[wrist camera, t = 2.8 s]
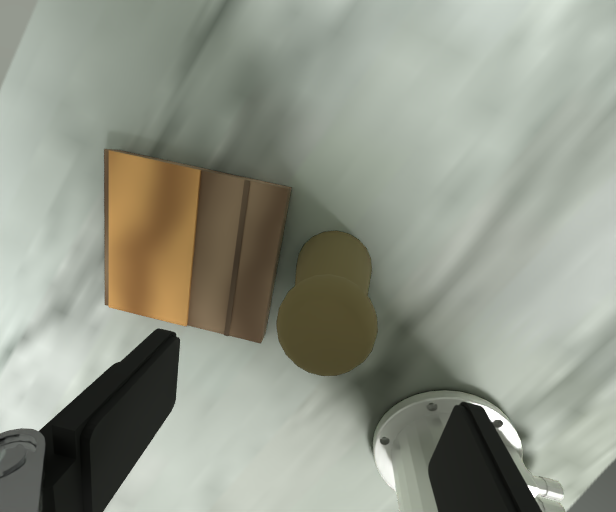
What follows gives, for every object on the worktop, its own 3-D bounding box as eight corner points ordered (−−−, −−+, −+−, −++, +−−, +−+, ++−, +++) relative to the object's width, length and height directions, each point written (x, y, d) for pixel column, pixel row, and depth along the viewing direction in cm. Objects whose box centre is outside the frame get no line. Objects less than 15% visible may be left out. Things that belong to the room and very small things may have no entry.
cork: (375, 233, 24) (398, 288, 13) (368, 304, 25) (382, 403, 15) (297, 228, 24) (260, 277, 14) (295, 298, 26) (261, 389, 16)
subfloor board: (291, 187, 23) (287, 189, 22) (265, 334, 27) (260, 344, 26) (118, 149, 24) (102, 148, 23) (117, 297, 28) (103, 305, 27)
